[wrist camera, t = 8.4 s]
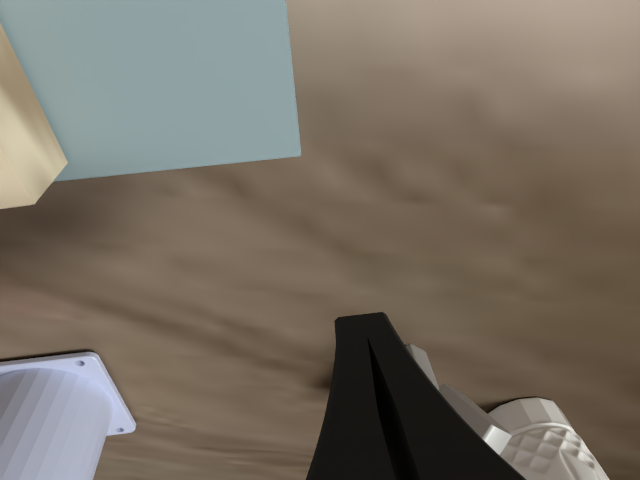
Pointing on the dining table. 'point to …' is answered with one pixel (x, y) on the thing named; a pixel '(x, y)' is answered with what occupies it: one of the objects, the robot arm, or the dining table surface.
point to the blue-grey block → (158, 81)
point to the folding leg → (23, 136)
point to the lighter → (465, 407)
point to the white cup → (544, 442)
